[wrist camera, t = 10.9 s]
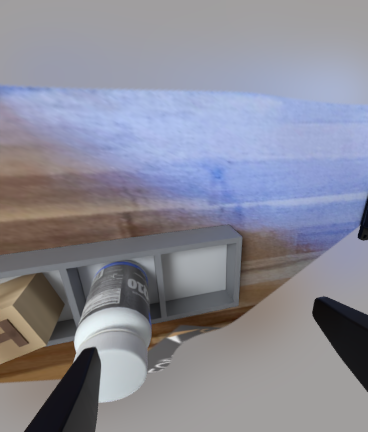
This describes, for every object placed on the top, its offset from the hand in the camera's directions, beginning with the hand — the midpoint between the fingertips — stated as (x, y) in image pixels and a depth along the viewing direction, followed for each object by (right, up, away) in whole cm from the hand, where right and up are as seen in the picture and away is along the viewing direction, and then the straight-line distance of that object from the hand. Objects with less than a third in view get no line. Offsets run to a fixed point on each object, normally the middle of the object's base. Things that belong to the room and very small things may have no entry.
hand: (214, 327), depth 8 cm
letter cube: (-14, -2, +9) cm, 17 cm away
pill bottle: (-7, -1, +11) cm, 13 cm away
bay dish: (-7, -1, +11) cm, 13 cm away
